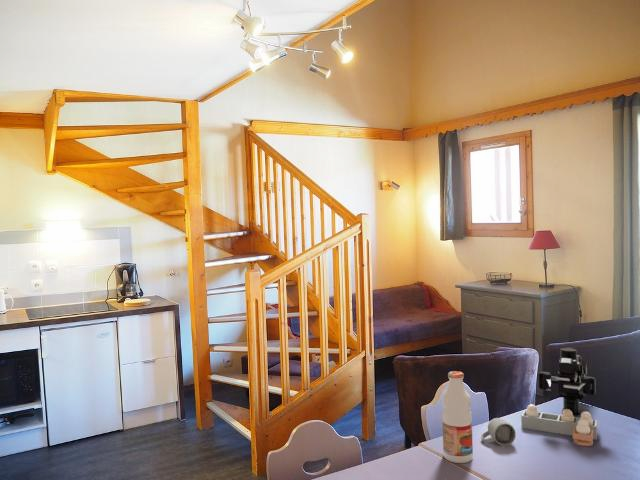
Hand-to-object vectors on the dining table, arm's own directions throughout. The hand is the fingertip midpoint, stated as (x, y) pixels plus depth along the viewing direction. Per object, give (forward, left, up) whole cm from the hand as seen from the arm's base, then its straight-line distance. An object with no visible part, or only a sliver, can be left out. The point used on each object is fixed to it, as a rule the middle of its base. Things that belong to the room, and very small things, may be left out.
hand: (564, 389), depth 184 cm
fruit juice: (+33, -29, -17) cm, 47 cm away
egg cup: (+3, +6, -17) cm, 18 cm away
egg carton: (-5, -3, -17) cm, 17 cm away
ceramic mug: (+15, -20, -17) cm, 30 cm away
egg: (+3, +6, -14) cm, 16 cm away
